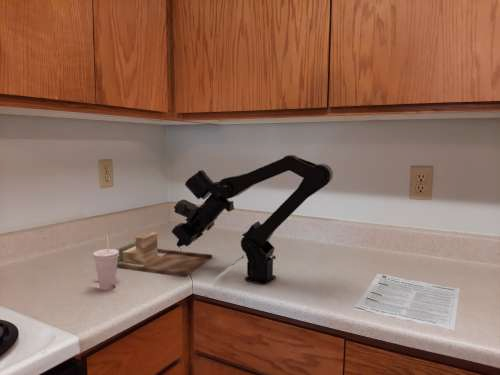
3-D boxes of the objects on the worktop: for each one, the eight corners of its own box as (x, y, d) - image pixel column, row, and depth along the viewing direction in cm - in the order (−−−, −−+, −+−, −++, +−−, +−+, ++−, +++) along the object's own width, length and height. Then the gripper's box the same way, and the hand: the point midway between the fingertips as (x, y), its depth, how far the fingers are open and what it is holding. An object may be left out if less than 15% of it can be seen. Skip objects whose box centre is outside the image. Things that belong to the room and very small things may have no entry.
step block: (157, 257, 117) (157, 232, 116) (144, 264, 110) (143, 238, 109) (136, 254, 119) (135, 230, 118) (122, 261, 113) (121, 236, 112)
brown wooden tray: (212, 262, 117) (212, 245, 116) (184, 282, 100) (184, 262, 99) (143, 254, 125) (142, 238, 124) (107, 271, 108) (106, 253, 107)
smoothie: (124, 288, 96) (122, 236, 94) (100, 295, 91) (97, 240, 90) (114, 281, 100) (112, 231, 98) (90, 287, 96) (88, 235, 94)
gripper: (202, 185, 114) (173, 219, 119) (175, 197, 97) (142, 236, 101) (227, 210, 114) (197, 243, 118) (205, 226, 96) (170, 264, 101)
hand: (178, 245), depth 110 cm, fingers closed
